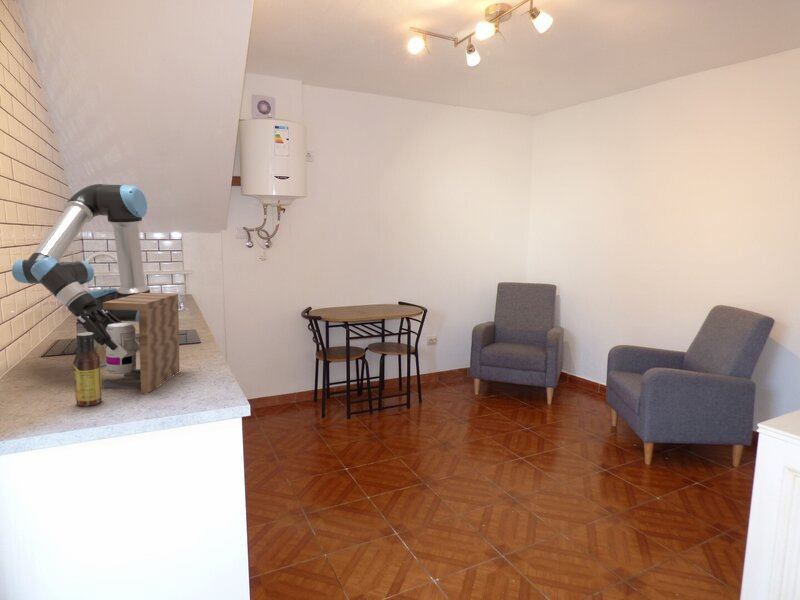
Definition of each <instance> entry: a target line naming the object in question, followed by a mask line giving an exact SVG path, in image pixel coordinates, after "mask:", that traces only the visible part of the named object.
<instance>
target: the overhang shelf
mask: <svg viewBox="0 0 800 600" xmlns="http://www.w3.org/2000/svg"><path fill="white" fill-rule="evenodd" d="M103 309H108V310H139V322H138V331H139V332H138V333H139V334H138V335H139V344H140V349H139V366H140V368H136V369H135V370H134V371H133V372H131V373H126V374H123V376H124V377H140V380H133V379H132V380H131V379H130V380H125V379H105V380H103V381H102V387H103V388H106V389H110V388H111V389H140V394H141V393H149V392H150V391H152V390H153V389H154V390H156V389H157V388H158V387H157V386H159V385H160V384H162V383H163V382H164V381H166V380H167V379H169V378H170V377H171V378H173V377H174V376H176V375H177V374H178V373H177V372H179V371H180V328H179V327H180V326H179V325H180V324H179V322H180V321H179V315H180V314H179V293H167V292H166V293H161V292H157V293H156V292H150V293H138V294H134V295H131V296H127V297H123V298H119V299H115V300H111V301H107V302H103ZM180 372H181V371H180ZM180 372H179V373H180ZM176 373H177V374H176ZM175 374H176V375H175ZM173 375H174V376H173ZM172 376H173V377H172ZM171 378H170V379H171ZM170 379H169V380H170ZM167 381H168V380H167ZM167 381H166V382H167ZM164 383H165V382H164ZM164 383H163V384H164ZM163 384H162V385H163ZM160 386H161V385H160ZM160 386H159V387H160ZM156 387H157V388H156ZM103 388H102V389H103ZM155 388H156V389H155ZM154 390H153V391H154ZM153 391H152V392H153ZM150 393H151V392H150ZM150 393H149V394H150Z"/></svg>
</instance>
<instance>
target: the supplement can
mask: <svg viewBox="0 0 800 600" xmlns="http://www.w3.org/2000/svg"><path fill="white" fill-rule="evenodd" d="M106 331H107V333H108V335H109V336H110V339H111V338H114V339H115V340H116V341H117V342H118V343H119V344H120V345H121V346H122V347H123V348H124V349H125V350H126V351H127V352H128V354H127V355H126V356H125V357H124V358H123V359H120V358H119V357H118V356H117V355H116V354H115V353H114V352H113V351H112V350H111V349H110V348H109V347H108V346H107V345H106V365H105V366H106V372H108V373H109V374H112V375H124V374H126V373H131V372H133V371H134V370H135V369H137V352H136V341H137V339H136V327H135V325H134V324H133V323H132V322H123V323H112V324H109V325H108V326H107V328H106Z"/></svg>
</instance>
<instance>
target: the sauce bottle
mask: <svg viewBox="0 0 800 600" xmlns="http://www.w3.org/2000/svg"><path fill="white" fill-rule="evenodd" d="M75 339H76V341H78V343H77V351H76V354H75V358H74V360H73V362H72V363H73V364H72V365H73V379H74V383H73V384H74V395H75V401H76V404H77V406H79V405H80V406H82V407H90V406H89V405H92V406H95V405H98V404H100V403H101V402H102V399H103V398H102V396H103V390H102V389H103V388H102V387H103V384H102V373H101V367H100V358H99V355H98V354H97V353H96V351H95V350H94V341H93V339H94V333H92V332H84V333H78V334H77V333H76V338H75Z"/></svg>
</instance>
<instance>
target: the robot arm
mask: <svg viewBox="0 0 800 600" xmlns="http://www.w3.org/2000/svg"><path fill="white" fill-rule="evenodd" d="M63 210H64V211H63V212H62V214H61V215H60V216H59V217H58V219H57V220H56V222H55V223H54V224H53V225H52V227H51V228H50V229H49V231H48V233H46V235H45V236H44V238H43V239H42V241H40V242H39V244H38V245H37V247H36V248H35V249H34V251H33V252H32V254H31V255H30V256H29V258H28V259H21V260H17V261H15V262H14V264H13V265H12V268H11V275H12V277H13V278H14V280H15V281H16V282H18V283H22V284H29V285H33V284H34V285H35V284H38V285H42V286H43V287H44V288H45V289H46V290H48V291H49V292H50V293H51V294H52V295H53V297H55V298H57V300H58V301H59V303H60V304H62V305H63V306H64V307H67V310H68V311H69V312H70V313H72V315H74V317H76V322H79V323H80V324H81V325H83V327H84V328H85V329H86V330H87V331H88V332H92V333H94V340H95V341H96V342H97V343H99V344H100V345H102V346H103V345H104V344H106V345H107V346H108V347H109V348H110V349H111V350H112V351H113V352H114V353H115V354H116V355H117V356H118V357H119V358H120V359H123V358H124V357H125V356H126V355H127V354H128V352H127V351H126V350H125V349H124V348H123V347H122V346H121V345H120V344H119V343H118V342H117V341H116V340H115V339H114V338H111V339H110V336H109V335H108V333H107V331H106V330H105V328H104V327H103V325H104V326H106V327H107V326H108V325H109V324H112V323H124V322H136V323H139V310H108V309H103V302H107V301H111V300H115V299H119V298H123V297H127V296H131V295H134V294H138V293H151V289H150V286H148V285H147V284H146V282H145V272H144V264H143V263H144V262H143V254H142V245H141V238H140V237H141V236H140V229H139V228H140V227H139V225H140V223H141V222H143V217H145V216H146V214H147V211H148V201H147V199H146V196H145V194H144V192H143V191H142V190H141V188H139V187H138V186H135V185H128V184H103V183H95V184H90V185H88V186H85V187H83V188H82V189H80V190H79V191H77V192H76V193H74V194H73V195H72V196H71V197H70V198H69V199H67V201H66V203H65V204H64V206H63ZM98 216H104V217H105V216H106V219H107V222H108V223H109V224H110V225H111V226H113V227H112V229H113V236H114V244H115V252H116V259H117V268H118V273H119V275H118V276H119V282H120V283H119V284H120V286H119V287H118V288H117V287H115V288H103V289H102V288H100V289H95V290H94V289H93V290H89V291H88V290H87V288H85V287H84V286H83V285H84V284H87V283H89V282H91V281H92V280H93V278H94V276H95V271H94V268H93V266H92V265H91V264H90V263H89V262H87V261H83V260H81V261H78V260H76V261H61V259H62V258H63V257H64V255H65V253H66V252H67V251H68V249H69V248H70V247H71V245H72V244H73V242H74V241H75V240H76V238H77V236H78V235H79V233H81V230H82V229H83V228H84V226H85V224H87V223H89V222H91V221H93V219H94V218H95V217H98ZM77 317H78V318H77ZM139 351H140V342H139V341H138V340H136V353H137V352H139Z"/></svg>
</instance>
